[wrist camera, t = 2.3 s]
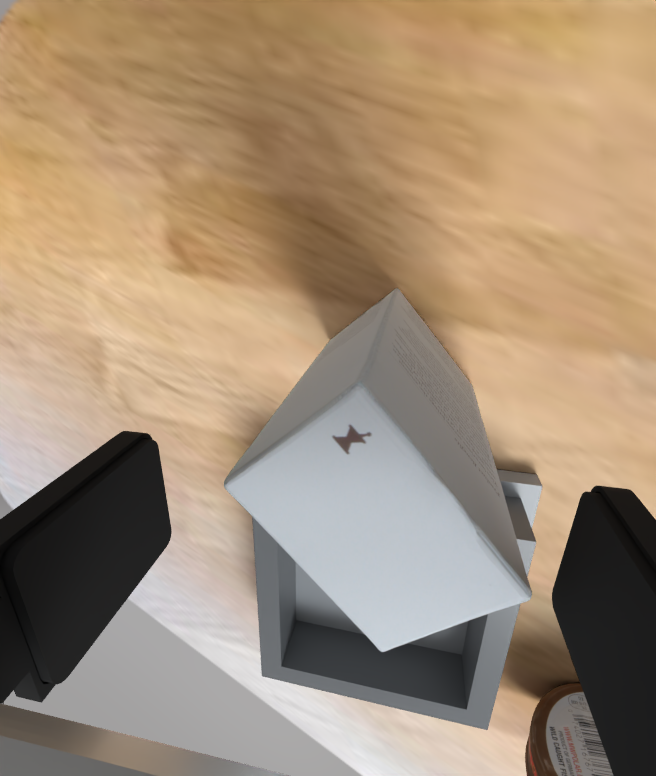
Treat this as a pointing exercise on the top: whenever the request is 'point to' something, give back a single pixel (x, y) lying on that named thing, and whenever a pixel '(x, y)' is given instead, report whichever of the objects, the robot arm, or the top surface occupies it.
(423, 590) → the skincare box
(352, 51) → the top surface
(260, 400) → the top surface
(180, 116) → the top surface
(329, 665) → the grey square tray
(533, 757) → the tin
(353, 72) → the top surface
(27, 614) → the robot arm
